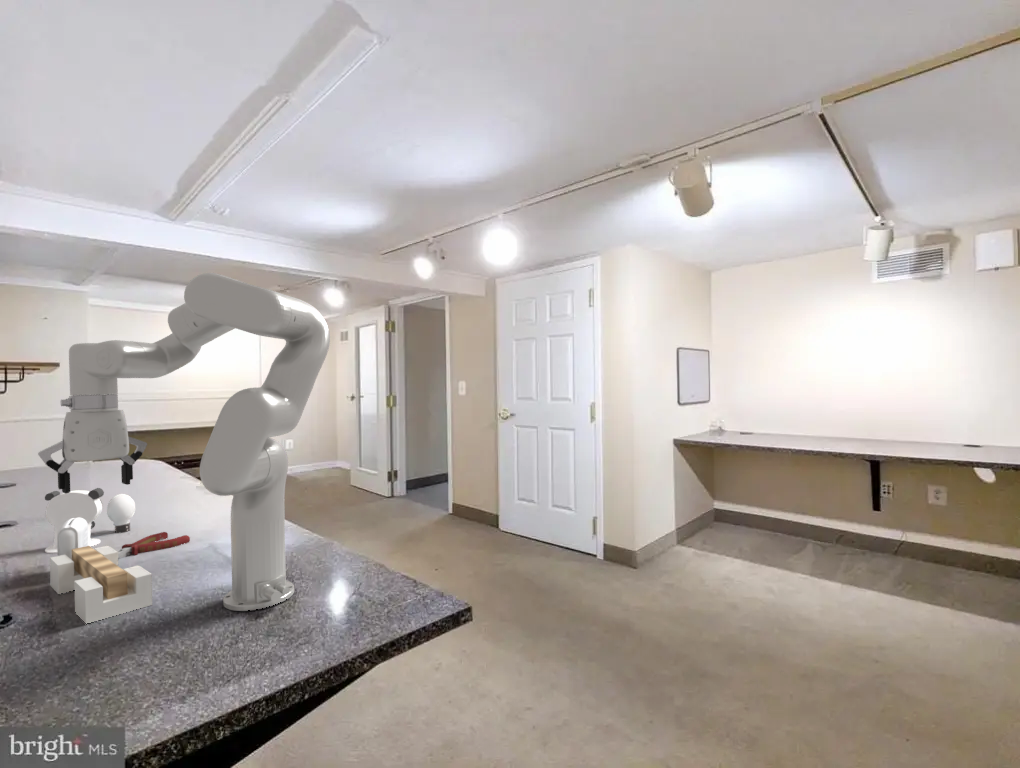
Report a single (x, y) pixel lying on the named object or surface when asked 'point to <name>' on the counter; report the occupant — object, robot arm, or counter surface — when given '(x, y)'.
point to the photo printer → (72, 536)
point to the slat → (100, 571)
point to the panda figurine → (73, 511)
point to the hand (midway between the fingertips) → (97, 488)
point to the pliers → (151, 544)
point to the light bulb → (121, 511)
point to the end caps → (100, 588)
